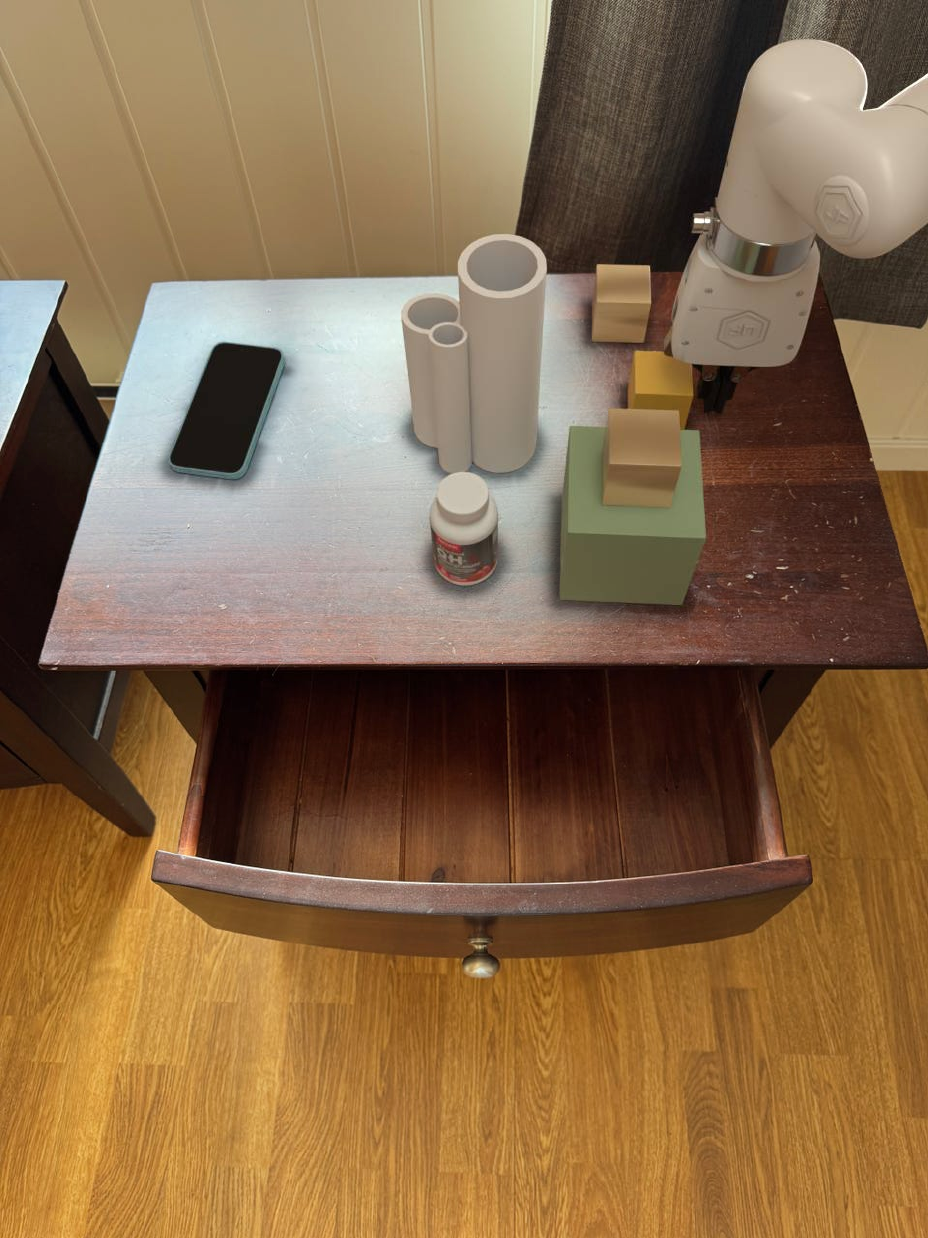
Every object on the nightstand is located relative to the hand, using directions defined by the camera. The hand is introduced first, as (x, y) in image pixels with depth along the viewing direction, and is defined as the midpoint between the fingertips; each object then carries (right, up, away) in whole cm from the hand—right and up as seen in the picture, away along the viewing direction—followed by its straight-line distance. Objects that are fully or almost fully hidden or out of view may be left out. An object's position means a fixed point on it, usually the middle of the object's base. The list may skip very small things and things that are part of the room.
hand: (711, 401), depth 84 cm
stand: (-9, -14, -6) cm, 18 cm away
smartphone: (-44, 0, +3) cm, 44 cm away
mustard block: (-5, -1, +2) cm, 5 cm away
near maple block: (-10, -9, -14) cm, 20 cm away
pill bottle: (-22, -15, -5) cm, 27 cm away
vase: (-21, -4, +1) cm, 22 cm away
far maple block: (-7, +9, +7) cm, 14 cm away
